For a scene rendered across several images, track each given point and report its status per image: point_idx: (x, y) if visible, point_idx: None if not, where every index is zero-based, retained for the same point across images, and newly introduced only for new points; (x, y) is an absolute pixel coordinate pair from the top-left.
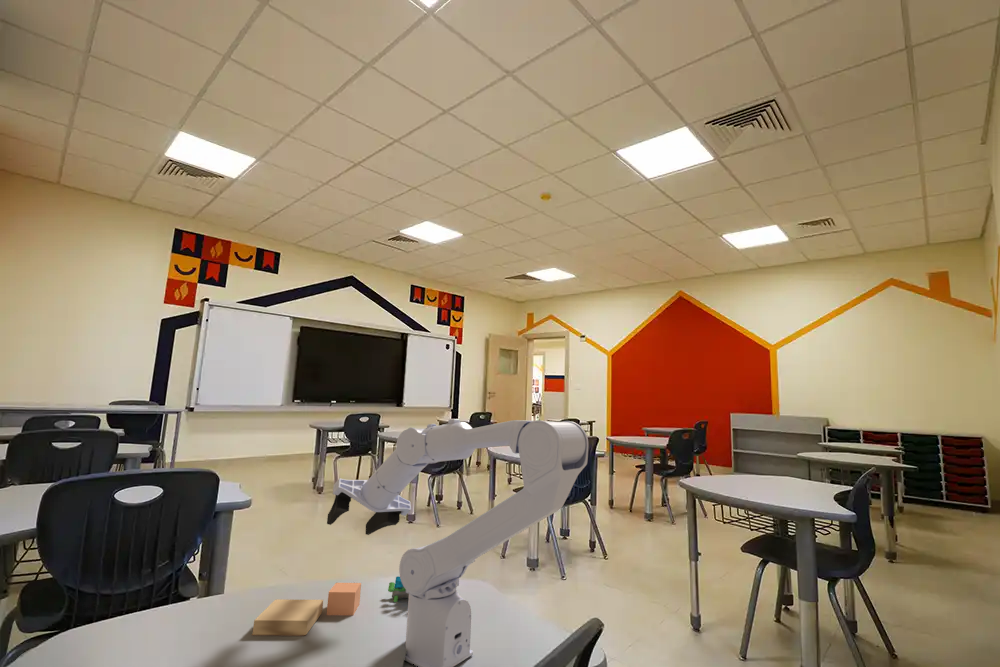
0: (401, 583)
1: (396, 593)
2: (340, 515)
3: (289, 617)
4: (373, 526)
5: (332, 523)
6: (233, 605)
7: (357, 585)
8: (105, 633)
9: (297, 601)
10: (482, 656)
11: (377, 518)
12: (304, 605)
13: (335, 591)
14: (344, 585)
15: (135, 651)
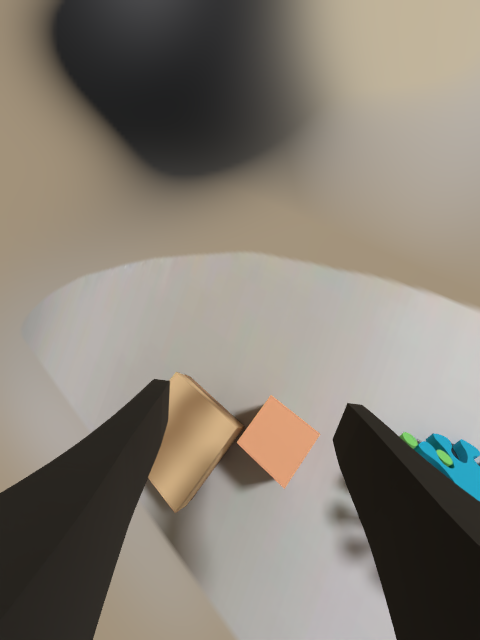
0: (436, 463)
1: None
2: (122, 542)
3: (159, 472)
4: (361, 502)
5: (162, 439)
6: (174, 294)
7: (305, 445)
8: (65, 306)
9: (198, 404)
10: None
11: (395, 529)
12: (199, 433)
13: (249, 448)
14: (279, 424)
15: (63, 367)
